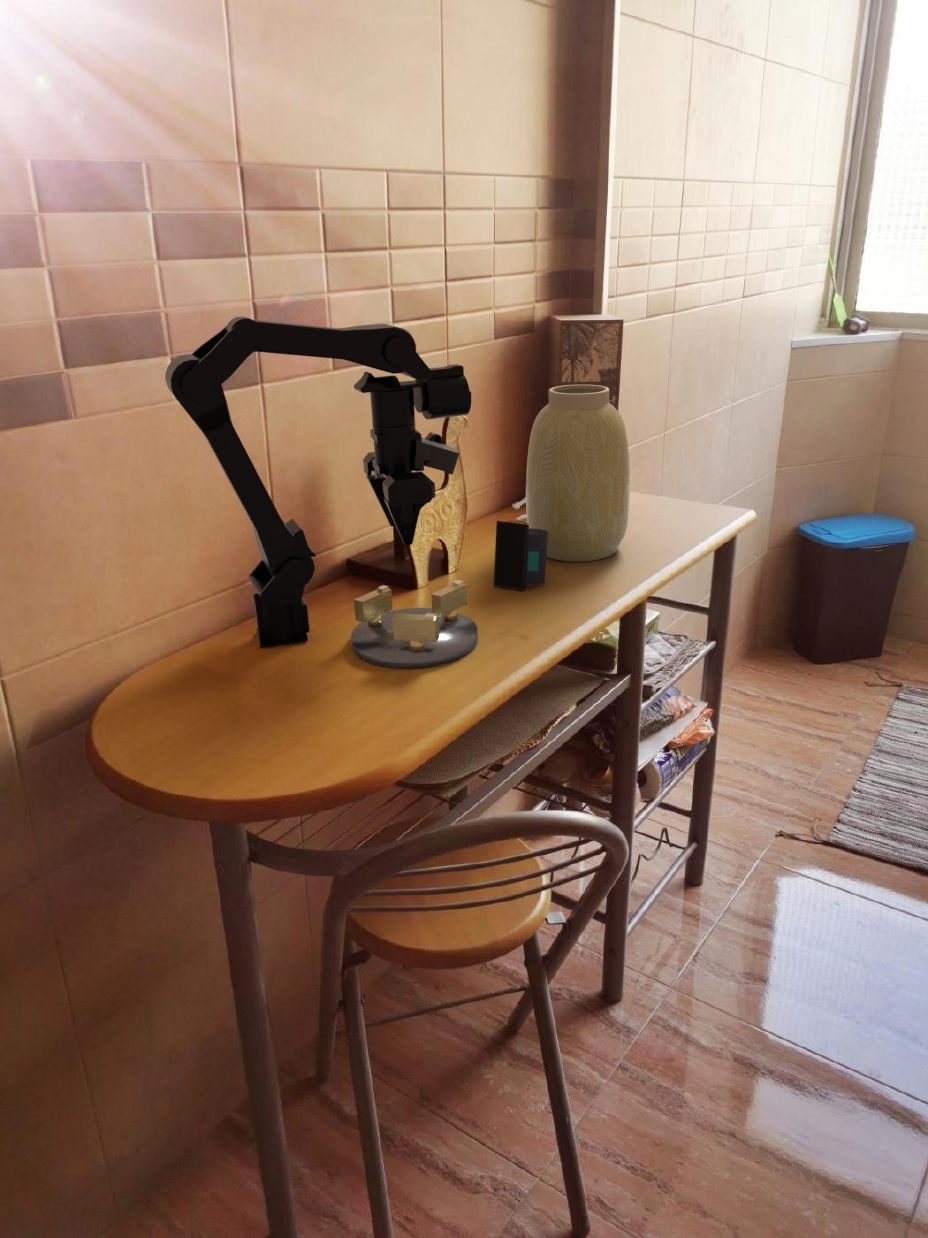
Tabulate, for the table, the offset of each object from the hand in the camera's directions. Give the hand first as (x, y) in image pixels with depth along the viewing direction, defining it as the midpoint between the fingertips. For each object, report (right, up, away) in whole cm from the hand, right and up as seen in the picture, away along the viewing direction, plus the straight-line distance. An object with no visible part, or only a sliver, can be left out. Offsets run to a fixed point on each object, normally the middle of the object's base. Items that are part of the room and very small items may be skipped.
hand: (401, 534), depth 130 cm
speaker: (+18, -6, +15) cm, 24 cm away
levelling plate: (+2, -15, -4) cm, 16 cm away
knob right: (+7, -12, -2) cm, 14 cm away
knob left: (-3, -13, -3) cm, 13 cm away
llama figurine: (+27, +5, +42) cm, 50 cm away
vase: (+28, 0, +29) cm, 40 cm away
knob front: (+3, -16, -11) cm, 19 cm away
